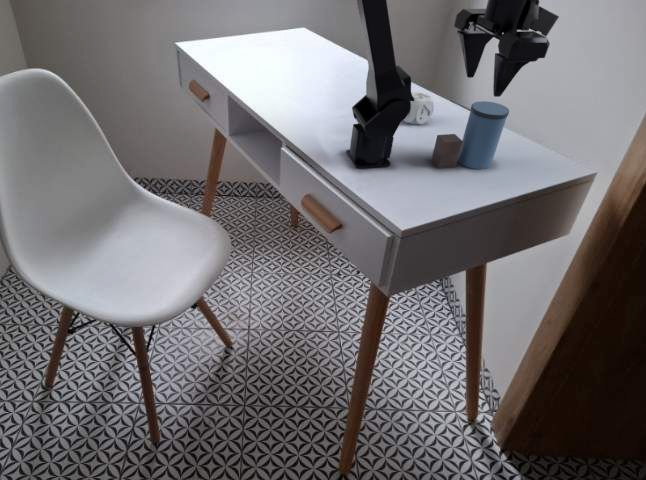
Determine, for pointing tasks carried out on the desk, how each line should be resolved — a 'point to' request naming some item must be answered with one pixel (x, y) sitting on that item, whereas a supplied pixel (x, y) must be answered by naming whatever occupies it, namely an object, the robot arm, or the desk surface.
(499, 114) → the blue canister
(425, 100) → the die
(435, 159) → the small dark brown block
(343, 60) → the desk surface
